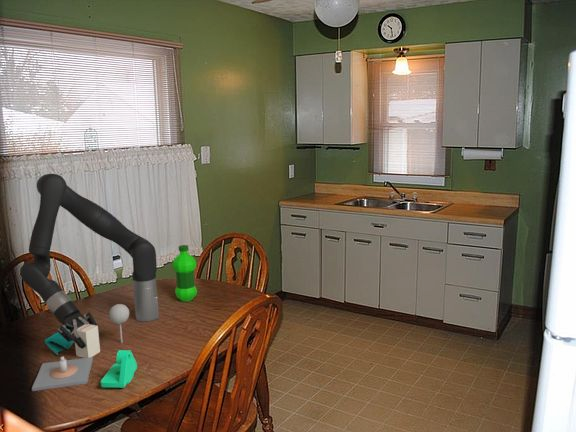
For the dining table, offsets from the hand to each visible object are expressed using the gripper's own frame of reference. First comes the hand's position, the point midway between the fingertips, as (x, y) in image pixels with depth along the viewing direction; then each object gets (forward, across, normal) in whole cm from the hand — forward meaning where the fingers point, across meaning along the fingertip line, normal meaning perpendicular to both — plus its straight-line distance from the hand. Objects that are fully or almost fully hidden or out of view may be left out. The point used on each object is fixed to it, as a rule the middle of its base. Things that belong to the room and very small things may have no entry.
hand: (91, 343), depth 178 cm
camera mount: (+18, -10, -11) cm, 23 cm away
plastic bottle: (+4, +57, +3) cm, 57 cm away
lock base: (+4, -14, +2) cm, 15 cm away
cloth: (-10, +5, +18) cm, 21 cm away
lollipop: (+6, +12, +1) cm, 13 cm away
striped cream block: (+2, 0, +4) cm, 5 cm away
